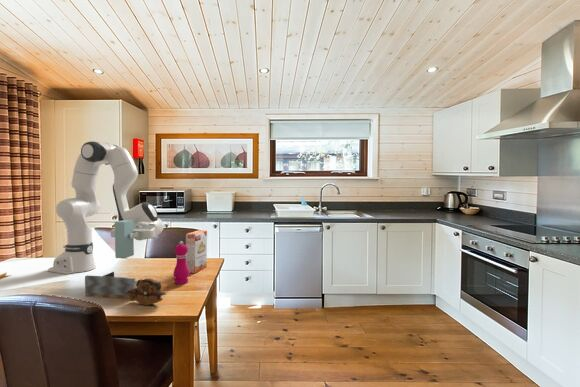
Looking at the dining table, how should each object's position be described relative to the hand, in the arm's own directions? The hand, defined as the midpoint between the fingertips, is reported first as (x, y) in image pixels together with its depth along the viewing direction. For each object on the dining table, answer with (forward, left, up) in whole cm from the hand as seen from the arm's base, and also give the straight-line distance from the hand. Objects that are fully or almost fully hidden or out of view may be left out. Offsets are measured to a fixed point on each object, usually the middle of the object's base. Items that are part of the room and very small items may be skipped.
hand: (123, 235), depth 147 cm
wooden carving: (+20, -15, -24) cm, 35 cm away
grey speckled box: (+1, -2, -24) cm, 24 cm away
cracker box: (+19, +35, -24) cm, 47 cm away
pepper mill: (+21, +13, -24) cm, 35 cm away
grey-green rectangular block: (0, +1, -9) cm, 10 cm away
